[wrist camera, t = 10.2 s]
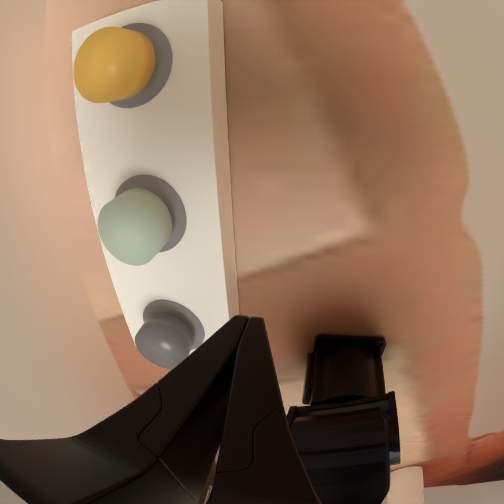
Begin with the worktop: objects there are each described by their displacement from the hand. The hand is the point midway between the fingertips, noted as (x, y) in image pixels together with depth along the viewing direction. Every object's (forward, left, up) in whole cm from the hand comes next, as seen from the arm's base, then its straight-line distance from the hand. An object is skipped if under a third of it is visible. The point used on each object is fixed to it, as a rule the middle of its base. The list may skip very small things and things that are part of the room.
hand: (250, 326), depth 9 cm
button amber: (+9, -9, -10) cm, 16 cm away
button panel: (+9, +1, -13) cm, 16 cm away
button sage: (+9, +1, -9) cm, 13 cm away
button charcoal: (+9, +11, -9) cm, 17 cm away
